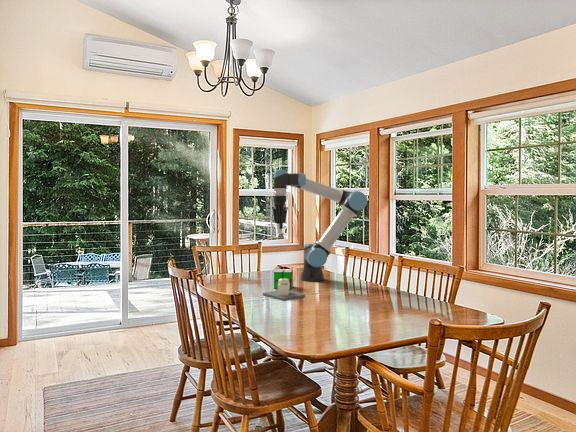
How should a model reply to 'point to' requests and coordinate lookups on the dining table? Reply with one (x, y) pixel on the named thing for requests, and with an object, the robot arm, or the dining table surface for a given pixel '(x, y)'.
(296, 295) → the board
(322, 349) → the dining table surface
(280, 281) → the knob
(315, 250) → the robot arm
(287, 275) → the puzzle cube
